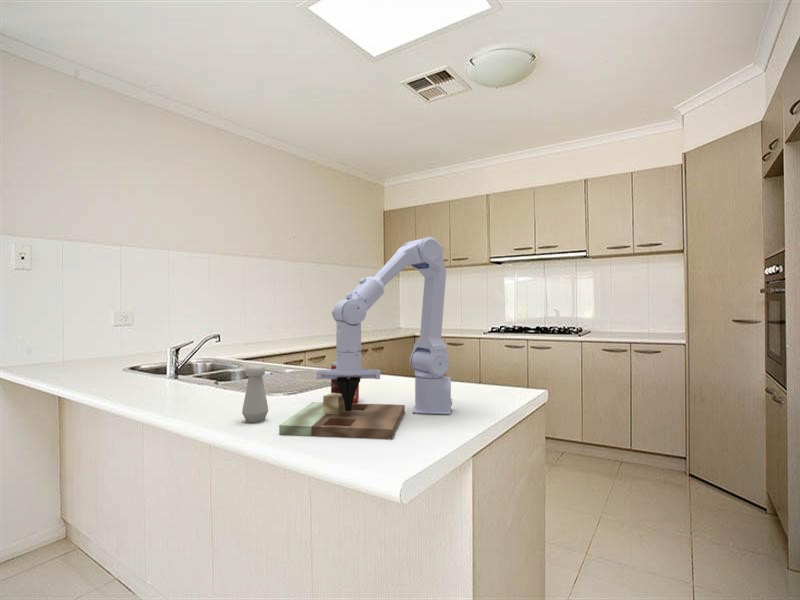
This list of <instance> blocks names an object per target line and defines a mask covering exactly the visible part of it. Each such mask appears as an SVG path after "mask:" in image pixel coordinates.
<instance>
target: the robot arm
mask: <svg viewBox="0 0 800 600" xmlns="http://www.w3.org/2000/svg"><path fill="white" fill-rule="evenodd" d="M407 266H411V267H412V268H414V269H415V270H416V271H418V272H419V273H420V274H421V276H423V278H424V283H423V293H422V295H423V297H422V308H421V320H420V331H419V333H420V334H419V338H418V339H417V340H416V341H415V343H414V345H413V351H412V352H411V354H410V356H409V364H410V367H411V369H412V370H413V372H414V376H415V377H414V378H415V379H414V384H415V385H414V391H415V393H414V399H415V400H414V407H413V409H412V410H411V411H412V412H411V413H412V414H428V415H431V414H432V415H451V411H452V407H453V398H451V397H452V393H451V392H452V388H451V387H452V380H451V379H452V377H451V376H445V374H446V373H447V372H448V370H449V367H450V359H449V357H448V346H447V345H446V344H445V343H444V341H443V340H442V333H443V332H442V329H443V321H444V320H443V318H444V308H445V307H444V306H445V293H446V280H447V269H446V265H445V261H444V247H443V246H442V245H441V242H439V240H437V239H436V238H435V237H433V236H427V237H424V238H420V239H416V240H415V239H414V240H409V241H406V242H405V243H403V245H402V246H401V247H398V249H397V250H396V252H395V253H394V254H393V255H392V257H390V259H389V260H388V261H387V262H386V263H385V264H384V265H383V266H382V267H381V268H380V270H379V271H378V272H377V273H376V274H375V275H374V276H366V277H361V278H360V280H359V281H358V283H359V284H358V285H357V286H356V287H355V288H354V289H353V290H352V291H351V292H347V293H346V294H345V299H341V300H339V301H338V302H337V303H335V305H334V308H333V311H331V316H332V318H333V319H334V320H333V321H335V323H336V332H335V335H336V336H335V337H336V339H335V342H336V344H335V345H336V350H335V351H336V354H335V356H336V358H335V359H336V360H335V362H336V369H331V368H330V369H328V368H327V369H317V370H316V380H325V379H326V380H327V379H328V380H331V379H337V382H336V383H337V386H338V388H339V390H340V392H341V394H342V397H343V400H344V404H345V411H351V410H352V404H353V399H354V395H355V392H356V389H357V387H358V385H359V386H360V382H361V379H367V380H369V379H371V380H372V379H374V380H380V379H381V369H371V368H369V369H368V368H362V322H363V321H365V318H366V317H367V312H368V311H369V310H370V308H371V307H372V306H374V305H375V304H376V302H377V301H378V300H380V298H382V296H383V295H384V294H385V286H386V285H387V284H389V282H390V281H391V280H393V278H395V277H396V276H397V275H398V274H400V272H401V271H403V270H404V269H405V268H406V267H407ZM355 375H357V376H355ZM349 379H350V380H349Z"/></svg>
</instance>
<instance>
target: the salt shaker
mask: <svg viewBox="0 0 800 600" xmlns="http://www.w3.org/2000/svg"><path fill="white" fill-rule="evenodd" d="M265 374H266V369H265V366H264V365H260V364H253V365H252V364H251V365H248V366H247V367H246V368H245V376H246V377H247V378H248V379H247V386H246V389H245V395H244V401H243V405H242V411H241V413H242V415H243V418H244V419H245V421H246V423H248V424H257V423H262V422H265V420H266V418H267V415H268V412H269V406H268V402H267V401H268V400H267V396H266V390H265V385H264V380H263V379H264V378H263V376H264V375H265Z"/></svg>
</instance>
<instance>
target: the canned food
mask: <svg viewBox="0 0 800 600" xmlns="http://www.w3.org/2000/svg"><path fill="white" fill-rule="evenodd" d="M330 365H331V366H330V367H331V368H330V369H336V361H333V362H331V364H330ZM355 376H357V375H355ZM349 380H350V379H349ZM336 382H337V379H330V393H340V394H341V392H340V390H339V388H338V386H337V383H336ZM359 391H360V384H359V385H358V387H357V389H356V392H355V395H354V399H353V403H358V402H359V398H360V396H359V395H360V394H359V393H360V392H359Z"/></svg>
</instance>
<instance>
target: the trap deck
mask: <svg viewBox="0 0 800 600" xmlns="http://www.w3.org/2000/svg"><path fill="white" fill-rule="evenodd" d="M405 406H406V405H405V404H391V403H390V404H385V403H358V402H357V403H353V404H352V410H351V411H345V412H343V413H341V414H339V415H336V414H326V413H323V401H321V402H316V401H312V402H311V403H309V404H308V405H306V406H305V407H303V408H301V409H300V410H299V411H298V412H296V413H295V414H294V415H292V416H290V417H289V418H288V419H286V420H285V421H283V422H281V424H279V425H278V430H279V431H278V434H279V436H302V437H303V436H304V437H305V436H306V437H325V438H326V437H330V438H349V439H351V438H353V439H378V440H379V439H380V440H381V439H383V440H393V438H394V436H395V434H396V432H397V429H398V427H399V425H400V424H401V421H402V419H403V417H404V415H405V413H406V412H405V410H406V409H405V408H406V407H405Z"/></svg>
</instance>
